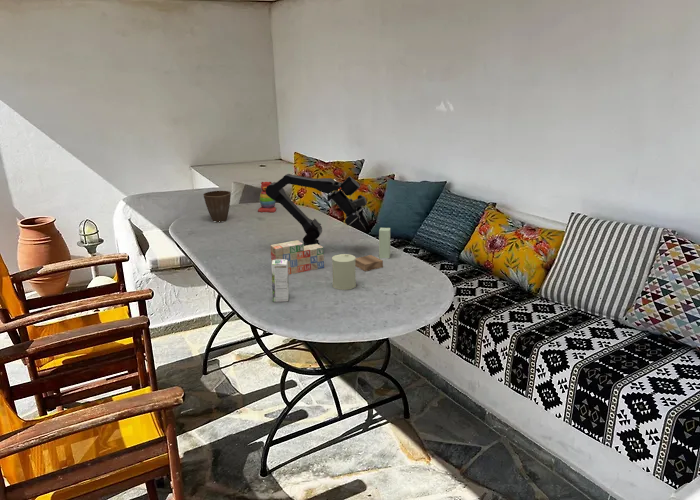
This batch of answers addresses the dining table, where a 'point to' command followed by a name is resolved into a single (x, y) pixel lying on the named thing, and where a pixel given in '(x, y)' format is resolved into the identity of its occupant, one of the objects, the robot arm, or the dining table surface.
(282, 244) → the stack of blocks
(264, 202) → the stacking bear
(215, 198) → the plant pot
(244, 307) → the dining table surface
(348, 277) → the can
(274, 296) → the syrup box
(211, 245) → the dining table surface
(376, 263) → the walnut slab
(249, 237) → the dining table surface
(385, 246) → the sage post
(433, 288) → the dining table surface
